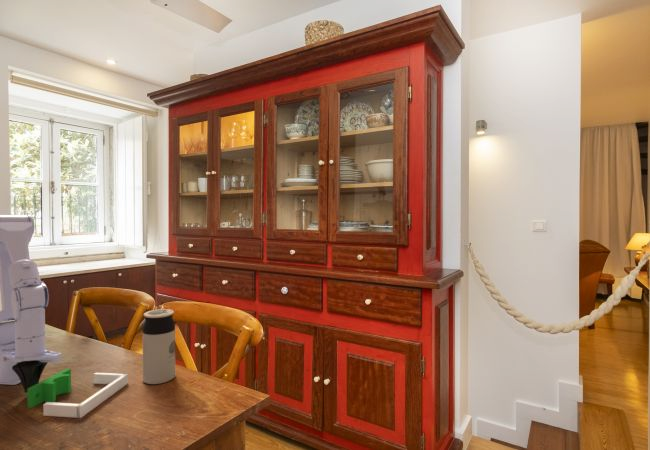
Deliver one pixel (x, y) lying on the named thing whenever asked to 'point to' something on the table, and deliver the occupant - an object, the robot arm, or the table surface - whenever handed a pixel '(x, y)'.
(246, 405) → the table surface
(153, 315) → the travel mug
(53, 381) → the pipe clamp
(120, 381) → the white u-shaped frame
